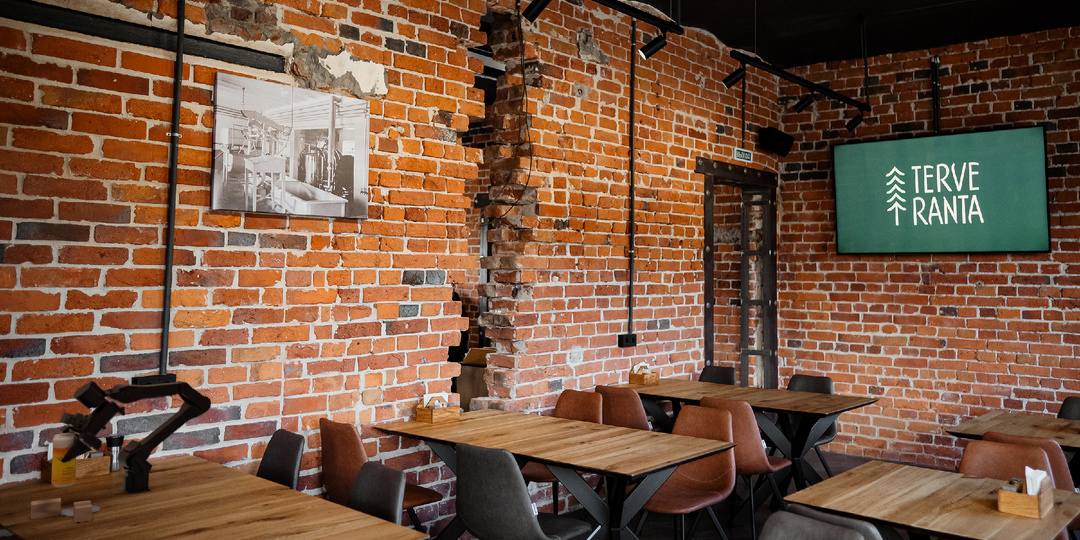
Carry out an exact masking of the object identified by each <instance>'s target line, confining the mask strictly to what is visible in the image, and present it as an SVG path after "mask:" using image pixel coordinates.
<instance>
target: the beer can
mask: <svg viewBox="0 0 1080 540" xmlns="http://www.w3.org/2000/svg"><path fill="white" fill-rule="evenodd" d="M61 433H62V432H61ZM61 433H57V434H55V435H54V436H53V439H52V449H51V450H52V453H51V455H52V457H51V458H52V459H51V485H53V487H54V488H66V487H70V486H73V485H74V484H75V483H76V480H77V457H76V458H74V459H72V460H69V461H67V462H65V463H63V462H62V461H61V460H62V459H63V457H64V456H65V454H66V453H67V452H68V451H69V449H70V448H71V447H72V445H73V441H74V437H75V438H77V437H76V436H75V434H74V433H62V434H61Z"/></svg>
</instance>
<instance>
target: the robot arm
mask: <svg viewBox="0 0 1080 540" xmlns="http://www.w3.org/2000/svg"><path fill="white" fill-rule="evenodd" d="M171 395H172V396H174V395H178V396H179V397H180V398H179V399H181V400H182V401H183V402H182V404H181V406H180V407H179V409H178V411H176V412H175V413H174V414H173V415H172V416H170V417H169V418H168V419H167V420H165V421H164V422H163V423H162V424H160V425H159V426H158V427H156V428H155V429H154V430H153V431H152V432H150V433H149V434H148V435H147V436H146V437H144V438H142V439H141V440H139V441H138V440H134V439H133V440H132V439H131V440H130V441H129V442H128V443H127V444H126V445H124V446H123V447H121V448H120V449H121V450H120V451H118V454H117V462H118V464H119V465H121V466H122V468H123V470H124V476H123V477H122V491H124V492H125V493H127V494H135V493H136V494H137V493H142V492H147V491H151V487H149V485H150V472H151V471H152V468H153V465H152V463H150V462H149V461H148V459H149V458H150V456H151V454H152V452H153V451H154V450H155V449H156V448H157V447H158V446H160V445H161V444H162V443H164V441H165V440H167V439H168V438H169V437H170V436H171V435H173V434H174V433H175V432H177V431H178V430H179V429H181V427H183V426H184V425H185V424H186V423H188V422H189V421H191V420H193V419H195V418H198V417H200V416H202V415H204V414H206V413H207V412H208V411H210V409H211V407H212V401H211V398H210V396H207V395H203V394H202V393H201V392H199V391H198V390H196V389H195V388H193V387H192V386H191V385H190V384H189V383H188V382H187V381H174V382H166V383H164V382H163V383H156V384H154V383H153V384H144V385H139V384H126V383H118V384H114V385H113V387H111V388H107V389H102V388H101V387H100V386H99V385H98V384H97V383H96V382H95V381H94V380H89V382H87V383H85V384H84V385H82V386H81V387H79V388H77V389H76V390H75V392H74V393H73V399H75V400H76V401H78V403H80V404H81V405H83V406H84V407H85V408H87V410H89V409H90V410H91V409H93V410H92V411H91V412H90V413H89V414H83V413H80V412H75V413H73V414H72V413H69V412H66V411H64V412H63V414H62V415H61V418H60V420H59V423H62V424H63V426H61V428H59V431H60V432H61V433H60V434H62V433H74V434H75V436H76V437H77V438H75V437H74V441H73V445H72V447H71V448H70V449H69V451H68V452H67V453H66V454H65V456H64V457H63V459H62V460H61V461H62V462H63V463H65V462H67V461H69V460H72V459H74V458H76V459H77V458H78V457H80V456H82V455H84V454H86V453H88V452H92V451H93V450H95V451H98V450H100V449H101V447H102V446H103V441H102V440H101V439H100V438H99V437H97V435H98V434H99V433H100V432H101V431H102V430H103V431H105V430H106V429H107V427H106V426H107V425H108V424H109V422H111V420H112V419H113V418H114V417H115V416H117V415H120V416H123V417H125V415H126V412H125V410H126V407H125V406H122V405H121V406H120V405H118V404H117V403H120V404H123V405H125V404H127V405H128V404H131V403H135V402H139V401H140V400H143V399H147V398H155V397H164V396H171ZM108 399H110V400H112V401H109V400H108Z"/></svg>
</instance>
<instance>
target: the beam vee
mask: <svg viewBox="0 0 1080 540" xmlns="http://www.w3.org/2000/svg"><path fill="white" fill-rule="evenodd" d="M30 505H31V506H30V519H31V520H36V519H37V518H38V519H46V518H51V517H52V516H53V517H59V516H58V515H61V516H63V515H66V516H65V517H73V516H74V517H73V521H74V524H78V523H77V522H80V523H86V522H85V521H87V522H92V518H93V516H92V515H93V514H95V513H98V512H99V511H100V510H101V507H100V506H98V505H92V502H91V500H83V501H75V502H73V506H72V507H69V508H65V509H63V510H62V499H61V497H58V498H51V499H41V500H40V499H39V500H35V501H33V500H32V501H31V502H30ZM97 511H98V512H97ZM94 512H95V513H94ZM45 517H46V518H45Z"/></svg>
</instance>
